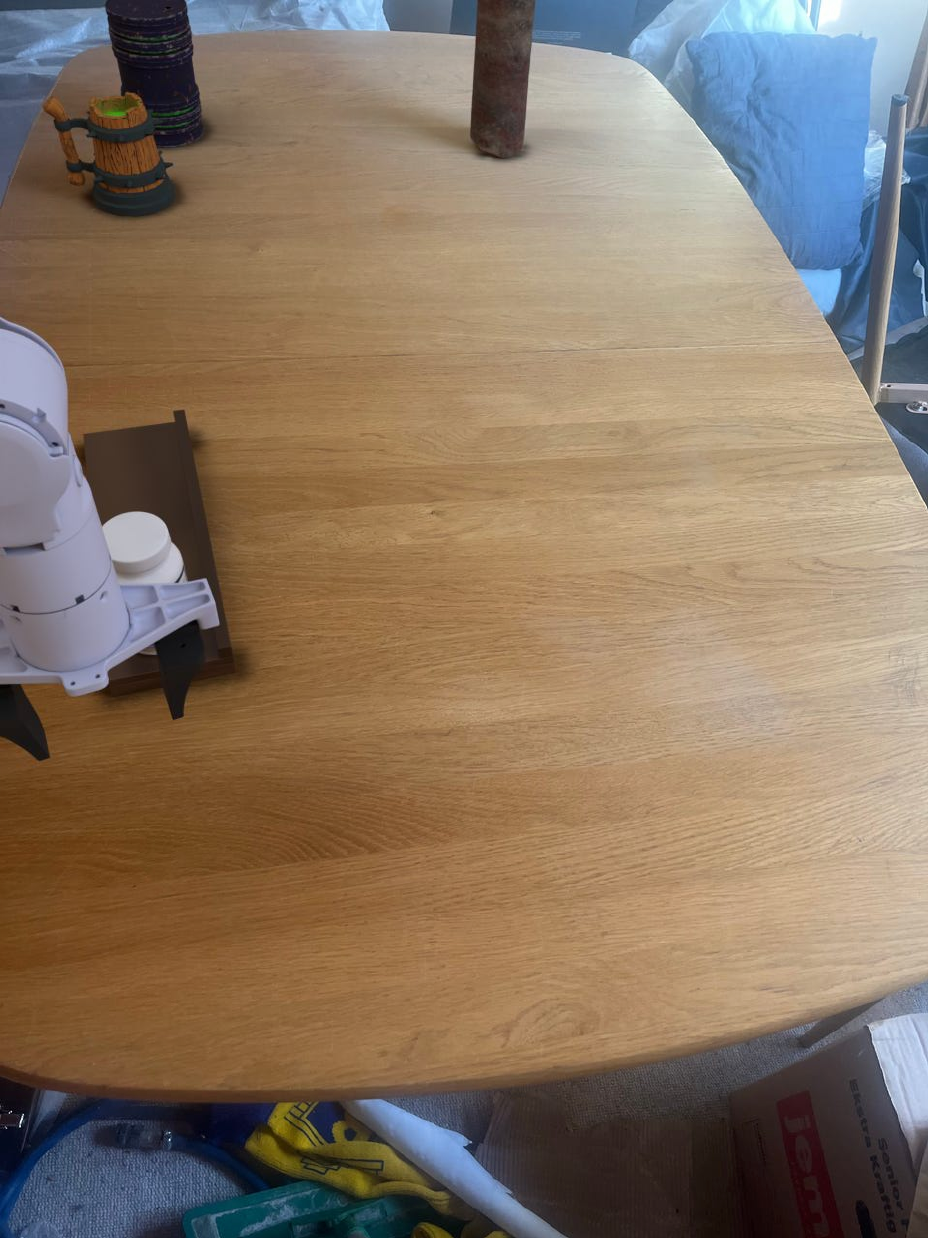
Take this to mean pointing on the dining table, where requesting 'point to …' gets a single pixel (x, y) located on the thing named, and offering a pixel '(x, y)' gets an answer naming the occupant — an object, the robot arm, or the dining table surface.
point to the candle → (501, 75)
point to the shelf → (168, 488)
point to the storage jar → (158, 64)
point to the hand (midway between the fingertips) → (109, 725)
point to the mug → (117, 155)
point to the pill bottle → (143, 552)
